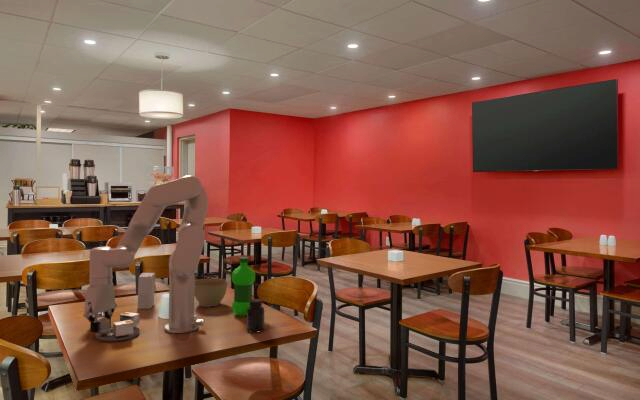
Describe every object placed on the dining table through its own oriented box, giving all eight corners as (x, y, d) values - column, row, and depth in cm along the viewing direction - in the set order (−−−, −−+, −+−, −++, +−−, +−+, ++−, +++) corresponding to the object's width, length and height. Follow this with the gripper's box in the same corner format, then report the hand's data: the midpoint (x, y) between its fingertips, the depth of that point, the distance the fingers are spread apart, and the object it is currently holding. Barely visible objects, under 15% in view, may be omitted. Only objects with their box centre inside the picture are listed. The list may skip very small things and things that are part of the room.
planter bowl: (232, 301, 220) (233, 279, 220) (217, 310, 204) (218, 286, 204) (202, 299, 224) (202, 277, 223) (185, 307, 208) (185, 284, 208)
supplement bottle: (257, 326, 184) (257, 297, 183) (267, 330, 179) (268, 300, 178) (243, 330, 179) (243, 299, 178) (253, 334, 174) (254, 303, 174)
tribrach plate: (146, 329, 177) (146, 324, 177) (127, 343, 162) (127, 337, 162) (109, 327, 178) (109, 322, 178) (86, 341, 163) (86, 335, 163)
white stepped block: (132, 328, 173) (132, 315, 172) (119, 326, 175) (120, 313, 174) (139, 326, 176) (139, 313, 176) (126, 324, 178) (126, 311, 178)
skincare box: (141, 304, 212) (141, 272, 211) (155, 304, 213) (155, 272, 212) (137, 309, 203) (137, 276, 203) (151, 309, 204) (151, 276, 204)
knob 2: (112, 335, 165) (113, 321, 164) (130, 332, 168) (130, 318, 168) (116, 338, 162) (116, 324, 162) (133, 335, 166) (133, 321, 165)
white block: (100, 328, 172) (101, 315, 172) (109, 332, 168) (109, 318, 168) (91, 331, 169) (91, 317, 169) (100, 334, 165) (100, 320, 165)
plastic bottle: (250, 318, 194) (251, 260, 193) (227, 316, 196) (228, 258, 195) (257, 312, 204) (259, 256, 203) (235, 310, 205) (236, 255, 204)
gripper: (110, 275, 177) (110, 322, 178) (73, 284, 161) (73, 335, 162) (126, 277, 174) (126, 324, 175) (89, 287, 158) (89, 338, 159)
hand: (100, 329), depth 169 cm, fingers open, 5 cm apart
